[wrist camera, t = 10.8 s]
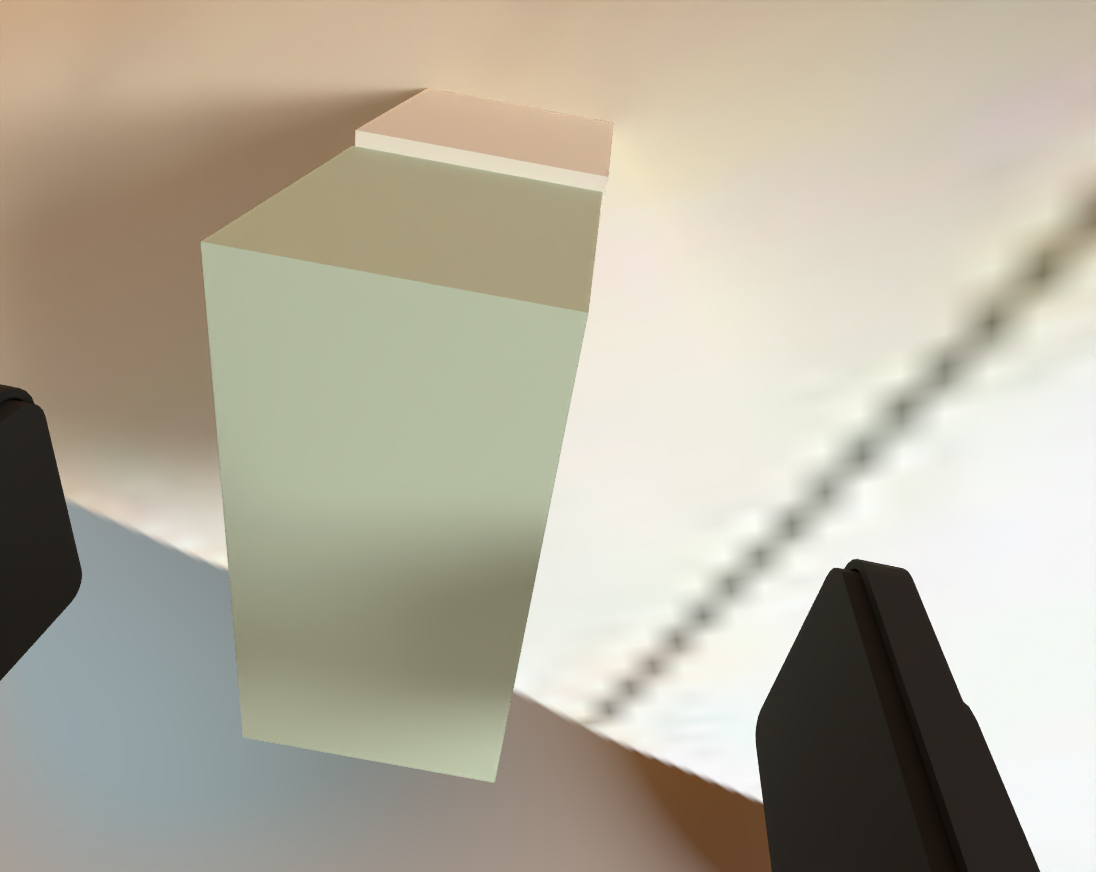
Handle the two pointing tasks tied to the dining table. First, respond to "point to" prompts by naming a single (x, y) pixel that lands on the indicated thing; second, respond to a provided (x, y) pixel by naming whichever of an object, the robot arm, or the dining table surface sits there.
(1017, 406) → the dining table surface
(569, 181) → the cream brick
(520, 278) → the sage brick
